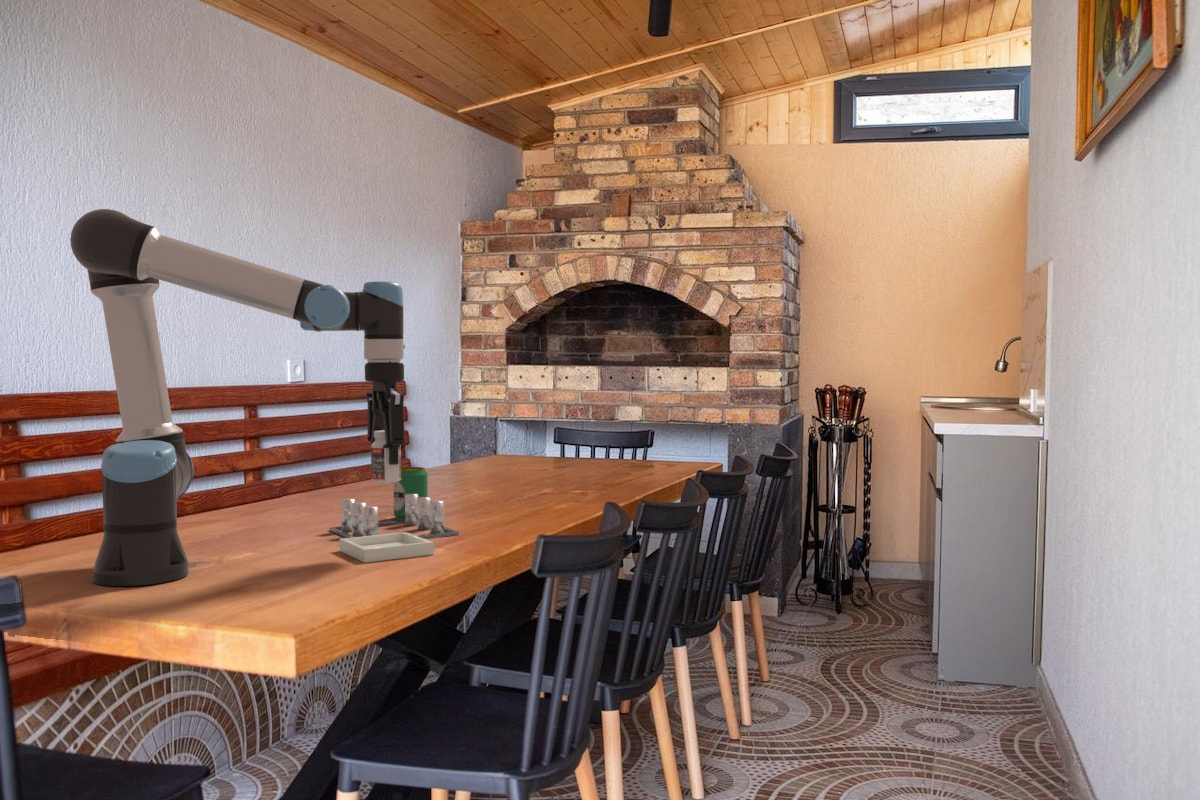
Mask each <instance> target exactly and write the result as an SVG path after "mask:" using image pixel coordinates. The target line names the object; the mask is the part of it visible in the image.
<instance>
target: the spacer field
mask: <svg viewBox="0 0 1200 800" xmlns="http://www.w3.org/2000/svg"><path fill="white" fill-rule="evenodd" d="M340 504H341V505H340V506H341V515H340V516H341V526H340V525H338V526H330V527H329V532H332V533H335V534H336V535H338V536H341V537H343V538H353V537H362V536H372V535H379V527H381V526H382V527H383V526H393V525H405V526H409V527H413V526H416V527H417V530H418V531H427V530H429V533H428V534H420V535H419V534H418V535H417V536H418V537H421V538H423V539H430V538H431V539H432V538H441V537H443V538H445V537H452V536H459V533H460V532H459V530H456V529H454V528H453V529H452V528H450V527H447V526H445V501H444V500H439V499H438V500H432V498H431V497H430V496H428V497H418V494H405V520H395V521H394V520H393V521H383V522H379V506H377V505H367V502H365V501H360V502H358V501H356V499H355V498H342V499H341V503H340ZM350 533H352V534H350Z"/></svg>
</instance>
